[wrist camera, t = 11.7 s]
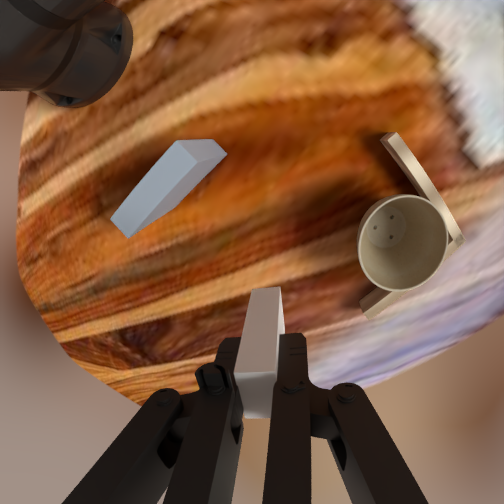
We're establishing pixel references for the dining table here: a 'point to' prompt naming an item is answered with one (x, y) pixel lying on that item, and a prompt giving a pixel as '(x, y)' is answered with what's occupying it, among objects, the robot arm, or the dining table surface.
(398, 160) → the l-shaped bracket
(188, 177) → the pale blue rectangular prism
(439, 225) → the flower pot
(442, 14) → the dining table surface
